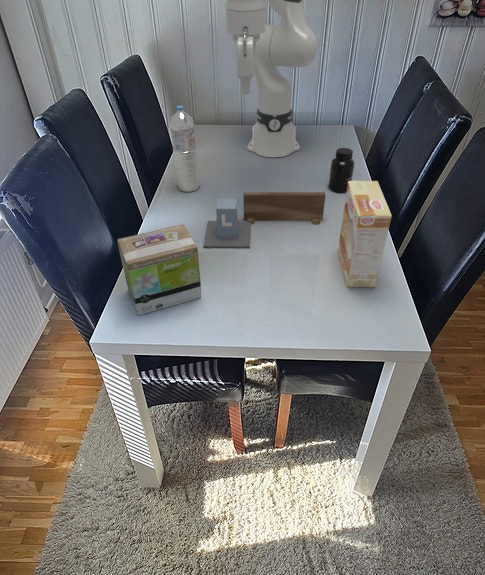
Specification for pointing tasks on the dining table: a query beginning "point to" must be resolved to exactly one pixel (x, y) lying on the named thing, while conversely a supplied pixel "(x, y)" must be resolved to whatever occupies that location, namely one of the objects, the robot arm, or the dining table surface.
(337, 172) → the supplement bottle
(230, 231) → the letter block
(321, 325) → the dining table surface
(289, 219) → the screen
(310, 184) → the dining table surface
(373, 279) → the coffeecake box
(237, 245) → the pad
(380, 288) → the dining table surface
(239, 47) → the robot arm
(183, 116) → the water bottle
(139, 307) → the tea box
